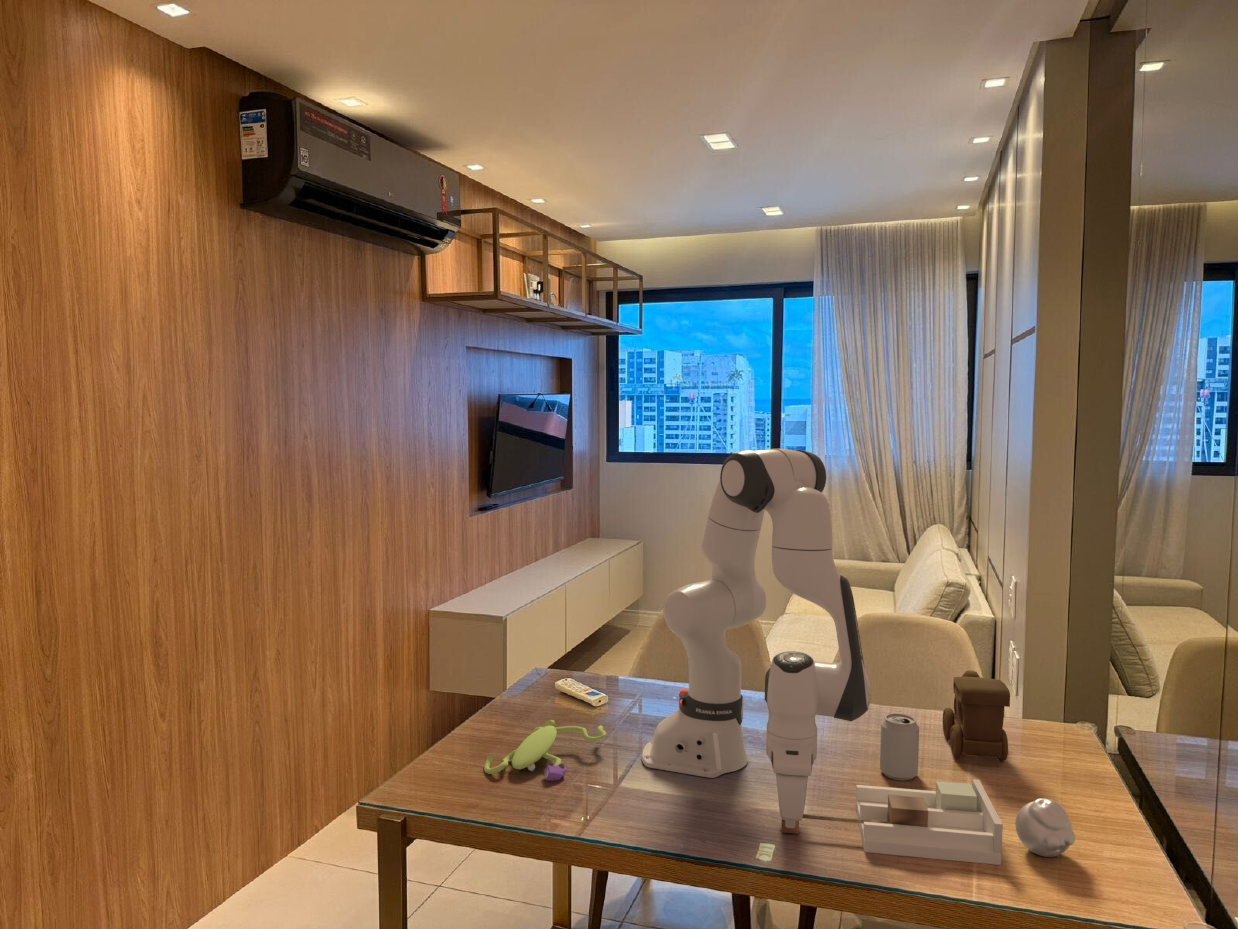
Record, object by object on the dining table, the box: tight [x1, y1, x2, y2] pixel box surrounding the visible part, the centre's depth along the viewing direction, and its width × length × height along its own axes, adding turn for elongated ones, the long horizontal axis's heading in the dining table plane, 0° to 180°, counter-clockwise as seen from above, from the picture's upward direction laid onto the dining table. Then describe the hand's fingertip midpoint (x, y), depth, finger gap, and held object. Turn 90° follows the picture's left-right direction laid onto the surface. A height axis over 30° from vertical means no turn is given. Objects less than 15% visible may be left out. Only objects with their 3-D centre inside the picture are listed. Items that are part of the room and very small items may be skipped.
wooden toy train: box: [942, 670, 1011, 763], centre depth 190 cm, size 20×11×17 cm, turn 168°
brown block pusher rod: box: [781, 795, 928, 835], centre depth 152 cm, size 24×5×7 cm, turn 80°
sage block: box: [935, 781, 977, 812], centre depth 156 cm, size 6×5×5 cm
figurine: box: [483, 719, 607, 782], centre depth 185 cm, size 18×27×6 cm
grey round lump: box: [1014, 797, 1076, 858], centre depth 146 cm, size 9×10×10 cm
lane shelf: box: [855, 778, 1004, 866], centre depth 153 cm, size 22×17×7 cm
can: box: [879, 712, 920, 781], centre depth 177 cm, size 8×8×12 cm
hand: (790, 821), depth 154 cm, fingers closed on brown block pusher rod, 2 cm apart
